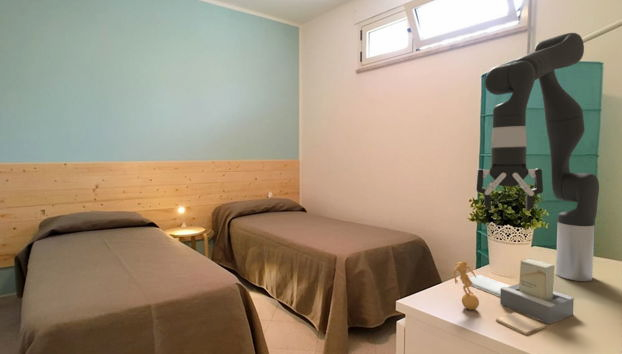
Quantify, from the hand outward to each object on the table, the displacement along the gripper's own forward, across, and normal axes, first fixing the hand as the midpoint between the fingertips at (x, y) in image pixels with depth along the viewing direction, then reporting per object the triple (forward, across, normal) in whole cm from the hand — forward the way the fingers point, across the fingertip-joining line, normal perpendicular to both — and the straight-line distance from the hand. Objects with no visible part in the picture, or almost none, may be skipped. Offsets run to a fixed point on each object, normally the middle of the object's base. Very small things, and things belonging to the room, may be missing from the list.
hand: (507, 209), depth 85 cm
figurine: (+25, +10, +4) cm, 27 cm away
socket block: (+26, -6, -2) cm, 26 cm away
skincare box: (+26, -6, -2) cm, 27 cm away
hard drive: (+26, +3, -14) cm, 30 cm away
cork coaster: (+25, -2, +9) cm, 27 cm away
